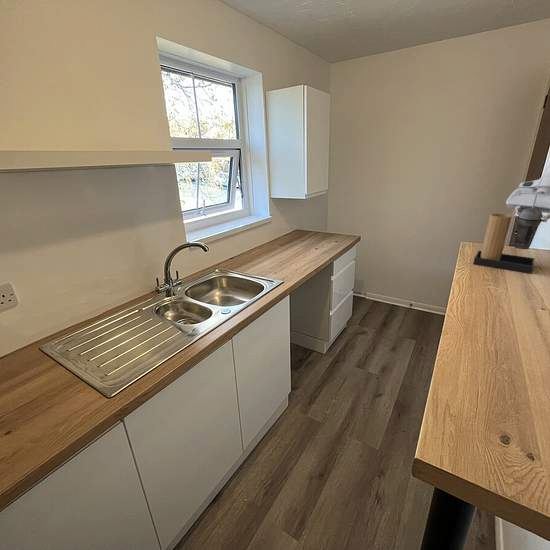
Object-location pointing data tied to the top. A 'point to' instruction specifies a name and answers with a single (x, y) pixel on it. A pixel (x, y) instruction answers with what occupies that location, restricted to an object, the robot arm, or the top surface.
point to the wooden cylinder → (495, 236)
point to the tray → (507, 263)
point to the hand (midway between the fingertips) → (529, 219)
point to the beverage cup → (527, 226)
